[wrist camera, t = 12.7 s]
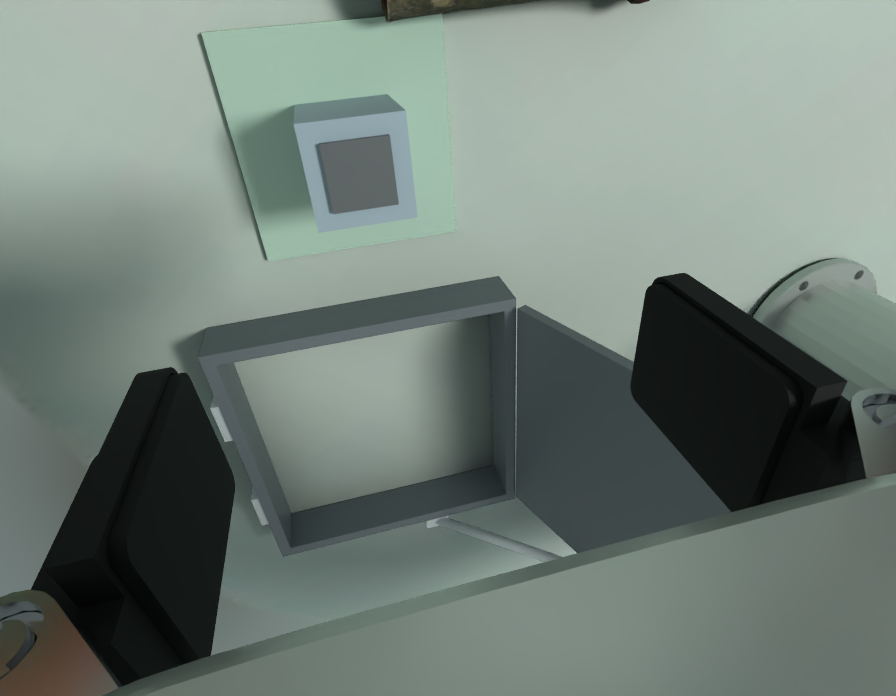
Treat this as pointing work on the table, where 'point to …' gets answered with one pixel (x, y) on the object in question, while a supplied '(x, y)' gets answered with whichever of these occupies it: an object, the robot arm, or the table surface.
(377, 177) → the module
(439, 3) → the brown rough-headed cylinder
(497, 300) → the case
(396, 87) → the mat
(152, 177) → the table surface
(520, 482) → the lid
